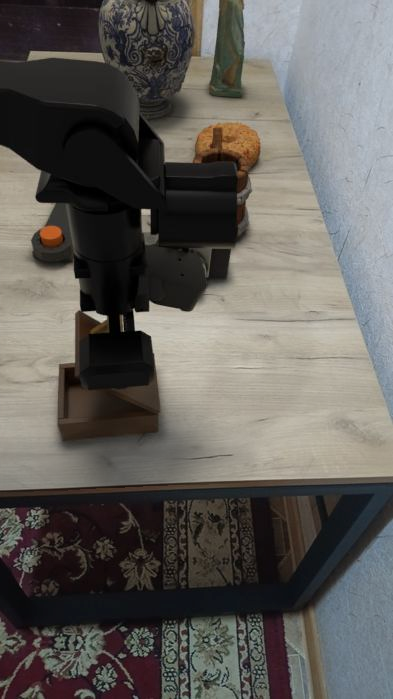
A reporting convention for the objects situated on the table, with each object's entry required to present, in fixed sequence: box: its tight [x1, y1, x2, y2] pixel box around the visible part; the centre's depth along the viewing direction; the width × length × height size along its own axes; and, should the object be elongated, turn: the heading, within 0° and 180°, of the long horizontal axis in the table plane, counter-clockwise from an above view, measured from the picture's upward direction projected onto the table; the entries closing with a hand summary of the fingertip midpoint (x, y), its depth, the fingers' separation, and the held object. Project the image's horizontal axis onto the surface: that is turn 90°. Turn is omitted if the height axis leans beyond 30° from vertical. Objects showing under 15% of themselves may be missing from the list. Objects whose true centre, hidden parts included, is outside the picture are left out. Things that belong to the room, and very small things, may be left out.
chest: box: [56, 362, 160, 442], centre depth 60 cm, size 11×8×4 cm
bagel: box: [194, 121, 262, 169], centre depth 96 cm, size 13×14×5 cm
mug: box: [192, 127, 253, 240], centre depth 80 cm, size 12×14×15 cm
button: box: [40, 226, 63, 248], centre depth 75 cm, size 3×3×2 cm
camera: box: [142, 214, 232, 280], centre depth 72 cm, size 14×9×10 cm, turn 88°
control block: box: [30, 203, 74, 263], centre depth 80 cm, size 20×6×3 cm, turn 173°
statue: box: [209, 0, 246, 98], centre depth 104 cm, size 7×8×25 cm
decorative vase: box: [98, 0, 195, 120], centre depth 96 cm, size 21×19×28 cm
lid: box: [74, 309, 162, 414], centre depth 54 cm, size 12×8×5 cm
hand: (118, 352), depth 53 cm, fingers open, 9 cm apart
